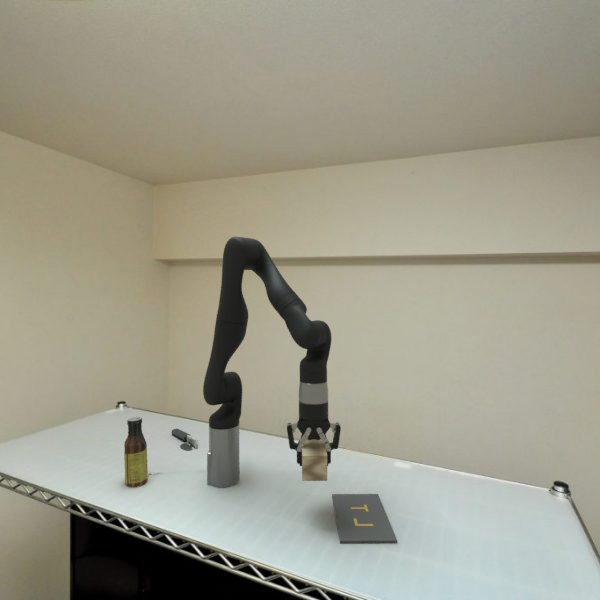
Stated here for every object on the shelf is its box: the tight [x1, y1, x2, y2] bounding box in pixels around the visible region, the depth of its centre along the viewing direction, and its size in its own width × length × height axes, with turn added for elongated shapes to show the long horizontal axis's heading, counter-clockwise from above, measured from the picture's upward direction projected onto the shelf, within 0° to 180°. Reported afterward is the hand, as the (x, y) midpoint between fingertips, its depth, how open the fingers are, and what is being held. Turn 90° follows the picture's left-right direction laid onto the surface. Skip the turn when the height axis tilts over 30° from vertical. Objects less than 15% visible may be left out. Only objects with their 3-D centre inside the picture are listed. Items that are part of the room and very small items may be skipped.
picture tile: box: [331, 493, 398, 545], centre depth 92 cm, size 13×20×1 cm, turn 0°
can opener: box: [171, 428, 199, 452], centre depth 138 cm, size 19×6×5 cm, turn 41°
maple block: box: [301, 439, 328, 482], centre depth 92 cm, size 6×12×6 cm, turn 0°
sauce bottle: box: [123, 416, 149, 488], centre depth 109 cm, size 6×6×20 cm
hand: (313, 464), depth 92 cm, fingers closed on maple block, 6 cm apart
